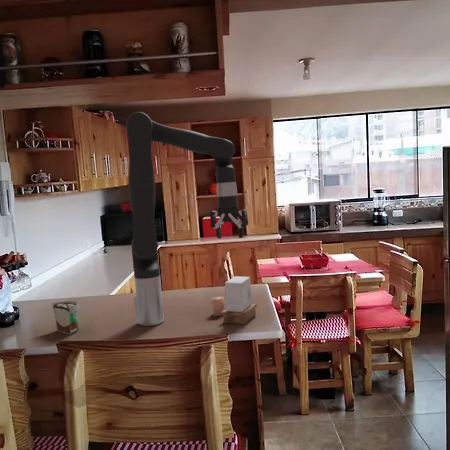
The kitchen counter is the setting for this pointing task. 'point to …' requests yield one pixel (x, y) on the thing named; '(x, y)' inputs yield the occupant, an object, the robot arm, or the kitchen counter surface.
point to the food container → (66, 316)
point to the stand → (239, 315)
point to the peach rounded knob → (217, 305)
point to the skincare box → (238, 294)
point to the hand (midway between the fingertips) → (230, 238)
